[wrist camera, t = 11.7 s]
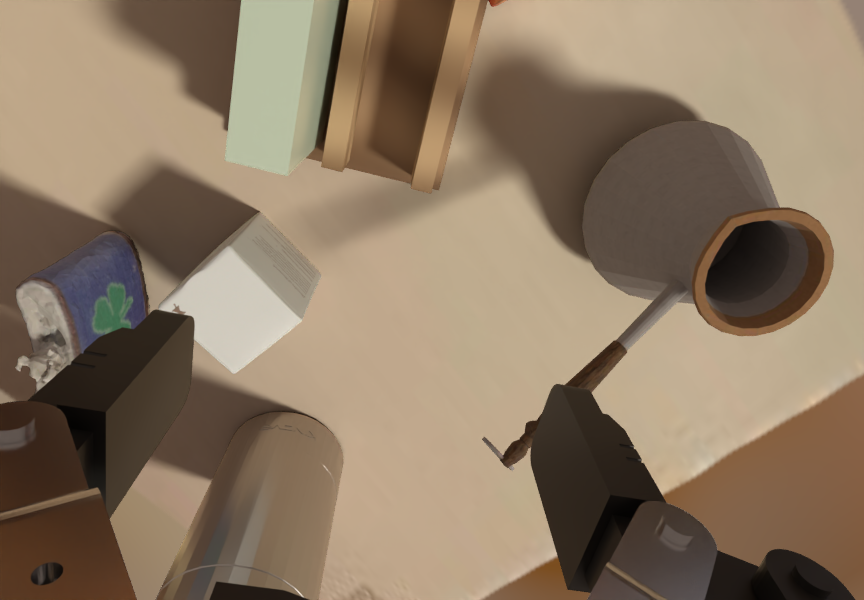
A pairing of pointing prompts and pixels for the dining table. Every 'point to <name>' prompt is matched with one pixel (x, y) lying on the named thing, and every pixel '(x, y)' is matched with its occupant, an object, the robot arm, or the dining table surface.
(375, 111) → the rack
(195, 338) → the product box
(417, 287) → the dining table surface
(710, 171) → the coffee pot
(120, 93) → the dining table surface
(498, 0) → the cracker box
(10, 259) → the dining table surface
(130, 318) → the flask
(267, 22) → the sage green tall prism
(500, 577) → the dining table surface
